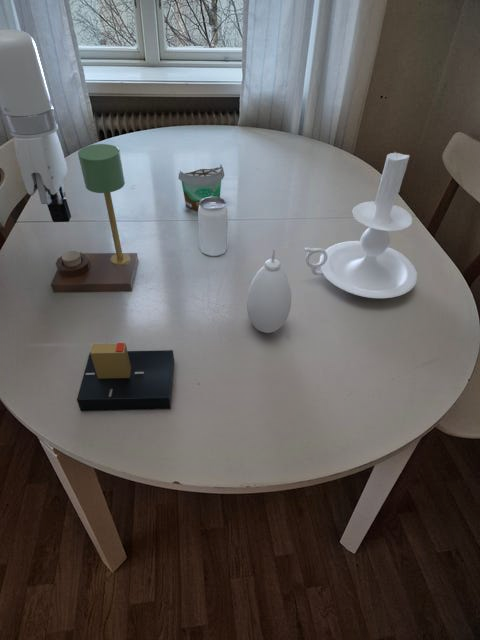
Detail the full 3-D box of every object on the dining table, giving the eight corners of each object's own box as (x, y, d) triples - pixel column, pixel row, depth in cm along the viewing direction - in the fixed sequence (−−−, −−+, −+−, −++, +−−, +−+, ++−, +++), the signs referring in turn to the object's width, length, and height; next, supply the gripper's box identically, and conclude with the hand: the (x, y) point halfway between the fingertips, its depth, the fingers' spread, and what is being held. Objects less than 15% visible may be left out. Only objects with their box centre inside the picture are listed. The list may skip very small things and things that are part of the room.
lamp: (100, 270, 88) (73, 159, 72) (106, 251, 93) (82, 143, 77) (135, 270, 88) (116, 160, 72) (139, 251, 93) (122, 144, 77)
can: (225, 240, 104) (225, 194, 96) (229, 256, 99) (229, 209, 91) (198, 242, 103) (196, 196, 95) (201, 258, 99) (199, 211, 90)
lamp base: (53, 292, 88) (47, 277, 86) (66, 261, 96) (61, 246, 94) (132, 291, 89) (129, 276, 86) (138, 260, 97) (136, 246, 94)
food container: (188, 217, 112) (185, 180, 105) (180, 206, 116) (177, 170, 109) (231, 208, 116) (231, 172, 109) (222, 198, 120) (222, 163, 113)
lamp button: (61, 267, 89) (59, 260, 87) (66, 257, 91) (64, 250, 90) (79, 267, 89) (77, 260, 88) (83, 257, 91) (81, 250, 90)
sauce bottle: (264, 309, 86) (271, 231, 74) (295, 328, 82) (307, 249, 70) (237, 328, 82) (240, 248, 70) (268, 349, 78) (276, 269, 66)
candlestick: (290, 254, 100) (306, 131, 81) (392, 250, 103) (430, 129, 84) (310, 313, 86) (335, 180, 66) (428, 307, 88) (485, 176, 69)
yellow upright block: (98, 378, 68) (89, 352, 64) (100, 369, 70) (92, 342, 66) (129, 378, 69) (123, 351, 64) (131, 368, 70) (125, 342, 66)
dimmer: (80, 411, 67) (76, 399, 65) (93, 363, 75) (89, 350, 73) (170, 409, 68) (168, 397, 66) (174, 361, 75) (173, 349, 73)
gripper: (23, 106, 76) (53, 201, 89) (-9, 138, 65) (30, 241, 78) (66, 106, 76) (89, 201, 89) (41, 137, 65) (72, 240, 78)
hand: (62, 219), depth 83 cm, fingers closed
